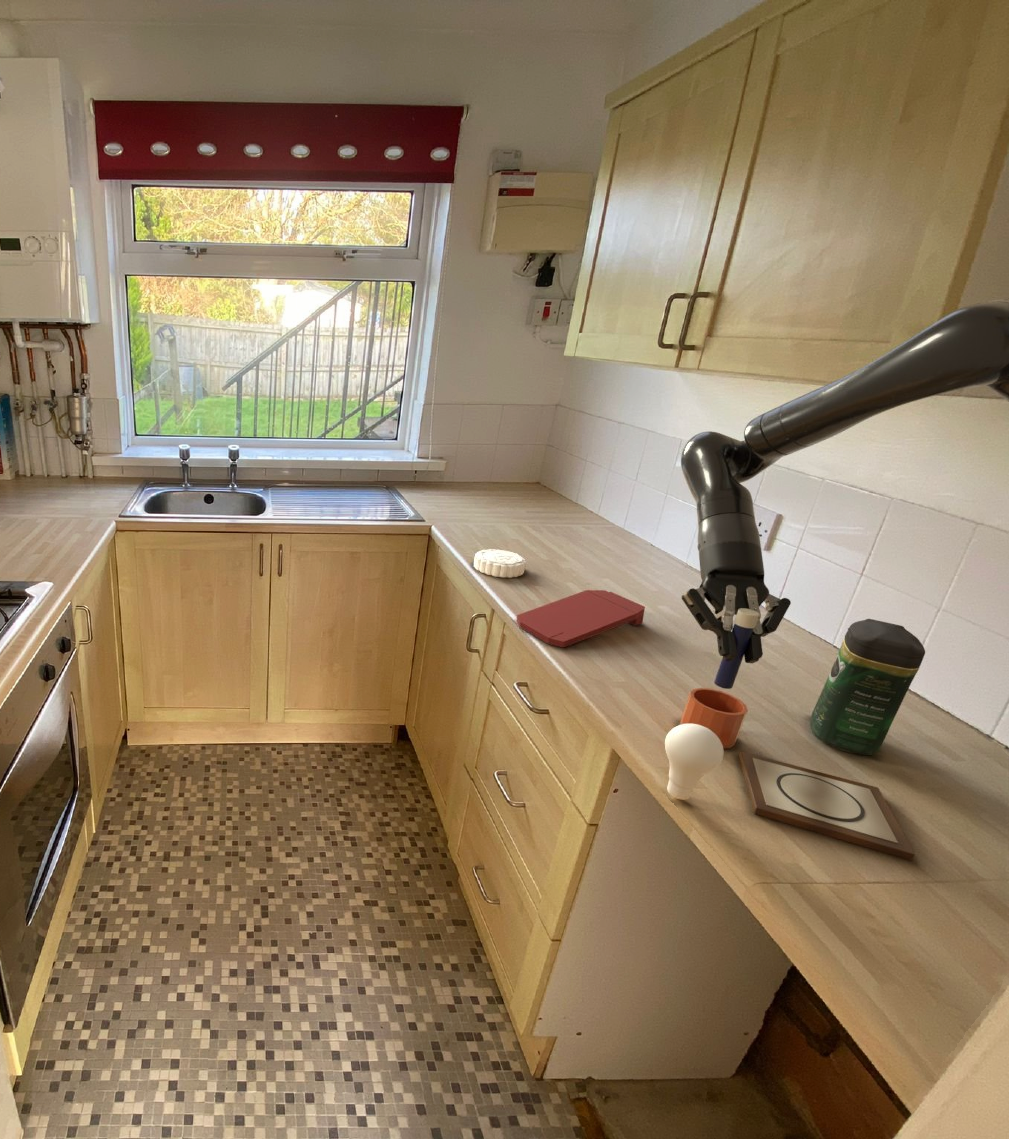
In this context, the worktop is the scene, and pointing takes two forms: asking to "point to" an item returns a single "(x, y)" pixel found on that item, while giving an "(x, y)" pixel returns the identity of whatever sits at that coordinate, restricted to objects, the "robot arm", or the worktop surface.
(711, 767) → the lightbulb
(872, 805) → the picture frame
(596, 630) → the red flat slab
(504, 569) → the mooncake
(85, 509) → the worktop surface
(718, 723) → the pen pot
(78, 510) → the worktop surface
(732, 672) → the cylinder
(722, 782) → the worktop surface
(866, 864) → the worktop surface
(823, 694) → the coffee jar
